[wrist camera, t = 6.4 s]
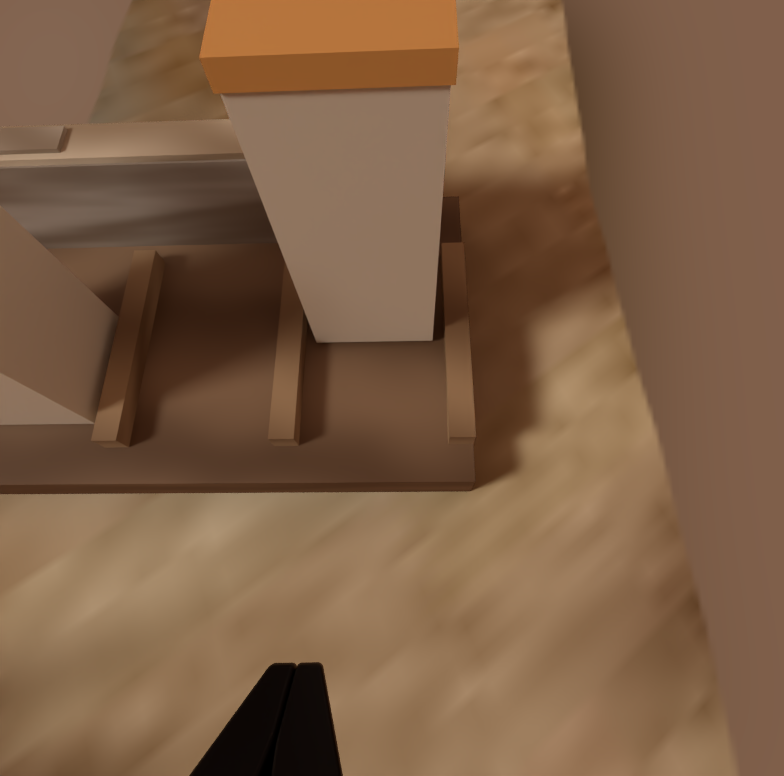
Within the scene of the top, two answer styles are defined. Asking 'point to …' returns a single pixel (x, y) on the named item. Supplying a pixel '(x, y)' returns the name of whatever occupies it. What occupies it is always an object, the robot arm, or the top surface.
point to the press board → (222, 333)
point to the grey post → (48, 336)
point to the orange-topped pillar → (344, 148)
